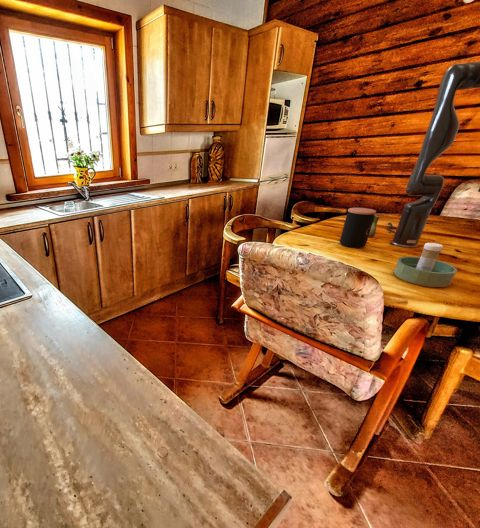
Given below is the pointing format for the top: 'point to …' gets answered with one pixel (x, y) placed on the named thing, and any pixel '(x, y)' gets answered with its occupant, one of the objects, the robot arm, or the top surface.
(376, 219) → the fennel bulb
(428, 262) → the sprinkles bottle
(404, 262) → the shallow teal bowl
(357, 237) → the coffee jar
